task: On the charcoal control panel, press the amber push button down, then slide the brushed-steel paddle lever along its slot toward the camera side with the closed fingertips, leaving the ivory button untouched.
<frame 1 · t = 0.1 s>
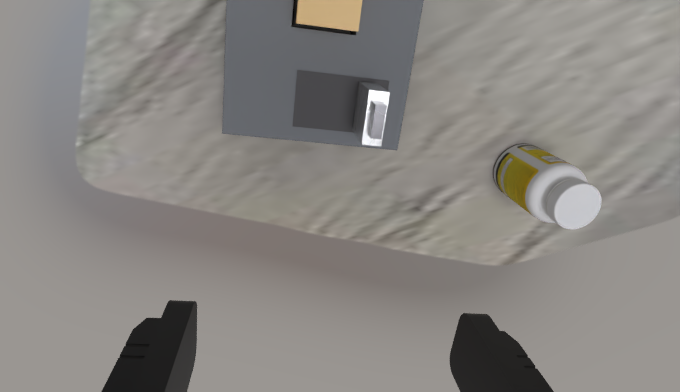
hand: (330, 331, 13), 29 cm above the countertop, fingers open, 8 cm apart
panel: (323, 10, 37), on the countertop
supplement bottle: (517, 168, 44), on the countertop
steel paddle: (370, 113, 34), point 6 cm above the countertop, slide at 0.0 cm
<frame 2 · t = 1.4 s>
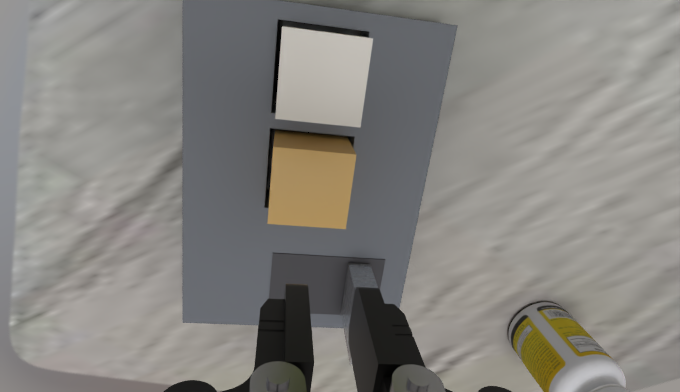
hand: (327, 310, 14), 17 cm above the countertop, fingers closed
ivory button: (320, 75, 24), point 4 cm above the countertop, slide at 0.0 cm
panel: (305, 172, 30), on the countertop
amber button: (309, 178, 26), point 4 cm above the countertop, slide at 0.0 cm
supplement bottle: (535, 325, 38), on the countertop
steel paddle: (362, 317, 28), point 6 cm above the countertop, slide at 0.0 cm
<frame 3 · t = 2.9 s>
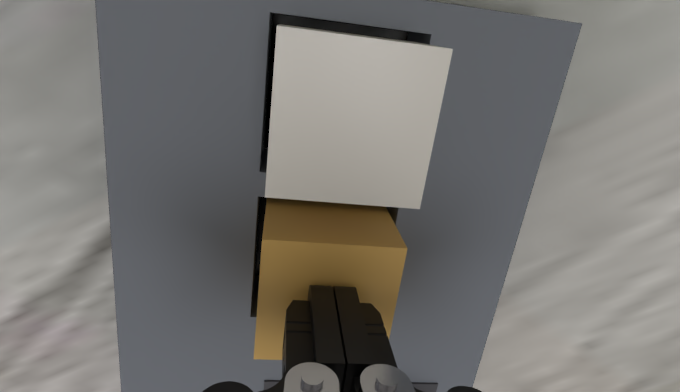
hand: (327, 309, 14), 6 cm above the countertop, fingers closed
ivory button: (346, 111, 14), point 4 cm above the countertop, slide at 0.0 cm
panel: (315, 248, 20), on the countertop
amber button: (323, 272, 16), point 4 cm above the countertop, slide at 0.4 cm, touching gripper
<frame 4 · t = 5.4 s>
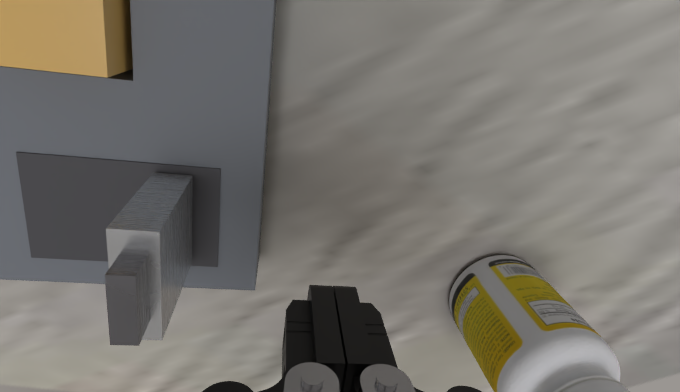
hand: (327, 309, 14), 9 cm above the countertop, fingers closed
panel: (89, 25, 18), on the countertop
supplement bottle: (490, 290, 26), on the countertop
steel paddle: (152, 257, 15), point 6 cm above the countertop, slide at 0.0 cm
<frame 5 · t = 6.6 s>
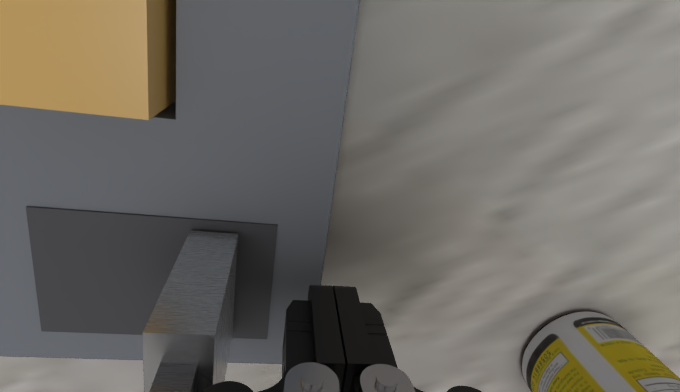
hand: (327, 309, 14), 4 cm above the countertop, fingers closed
panel: (118, 47, 15), on the countertop
amber button: (82, 14, 12), point 3 cm above the countertop, slide at 1.3 cm
supplement bottle: (567, 349, 22), on the countertop
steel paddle: (194, 348, 12), point 6 cm above the countertop, slide at 0.2 cm, touching hand
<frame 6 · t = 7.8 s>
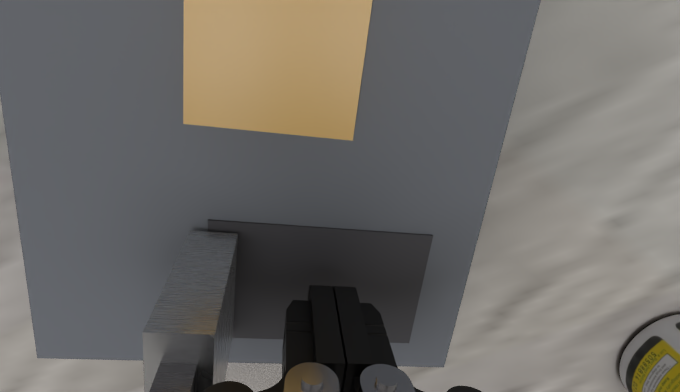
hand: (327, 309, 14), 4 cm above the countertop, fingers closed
panel: (277, 67, 16), on the countertop
amber button: (278, 41, 13), point 3 cm above the countertop, slide at 1.3 cm
supplement bottle: (661, 350, 23), on the countertop
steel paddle: (194, 348, 12), point 6 cm above the countertop, slide at 5.6 cm, touching hand
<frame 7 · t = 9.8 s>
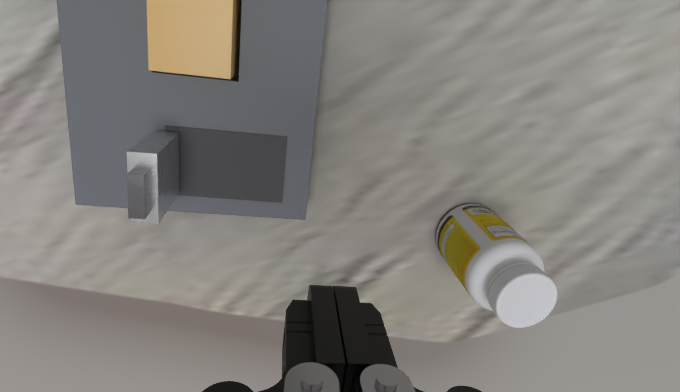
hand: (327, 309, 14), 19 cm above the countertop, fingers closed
panel: (204, 48, 29), on the countertop
amber button: (197, 32, 26), point 3 cm above the countertop, slide at 1.3 cm
supplement bottle: (465, 231, 36), on the countertop
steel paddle: (153, 177, 25), point 6 cm above the countertop, slide at 5.7 cm
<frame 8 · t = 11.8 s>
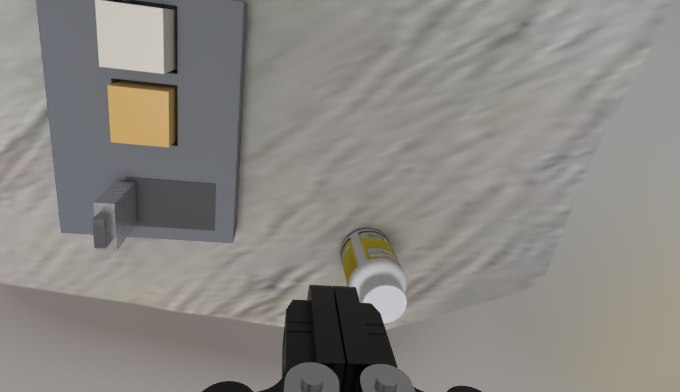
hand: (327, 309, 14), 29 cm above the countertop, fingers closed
ivory button: (139, 37, 33), point 4 cm above the countertop, slide at 0.0 cm
panel: (155, 118, 40), on the countertop
amber button: (146, 112, 37), point 3 cm above the countertop, slide at 1.3 cm
supplement bottle: (365, 249, 47), on the countertop
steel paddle: (114, 217, 36), point 6 cm above the countertop, slide at 5.7 cm
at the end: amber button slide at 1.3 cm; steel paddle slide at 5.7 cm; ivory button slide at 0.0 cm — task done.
